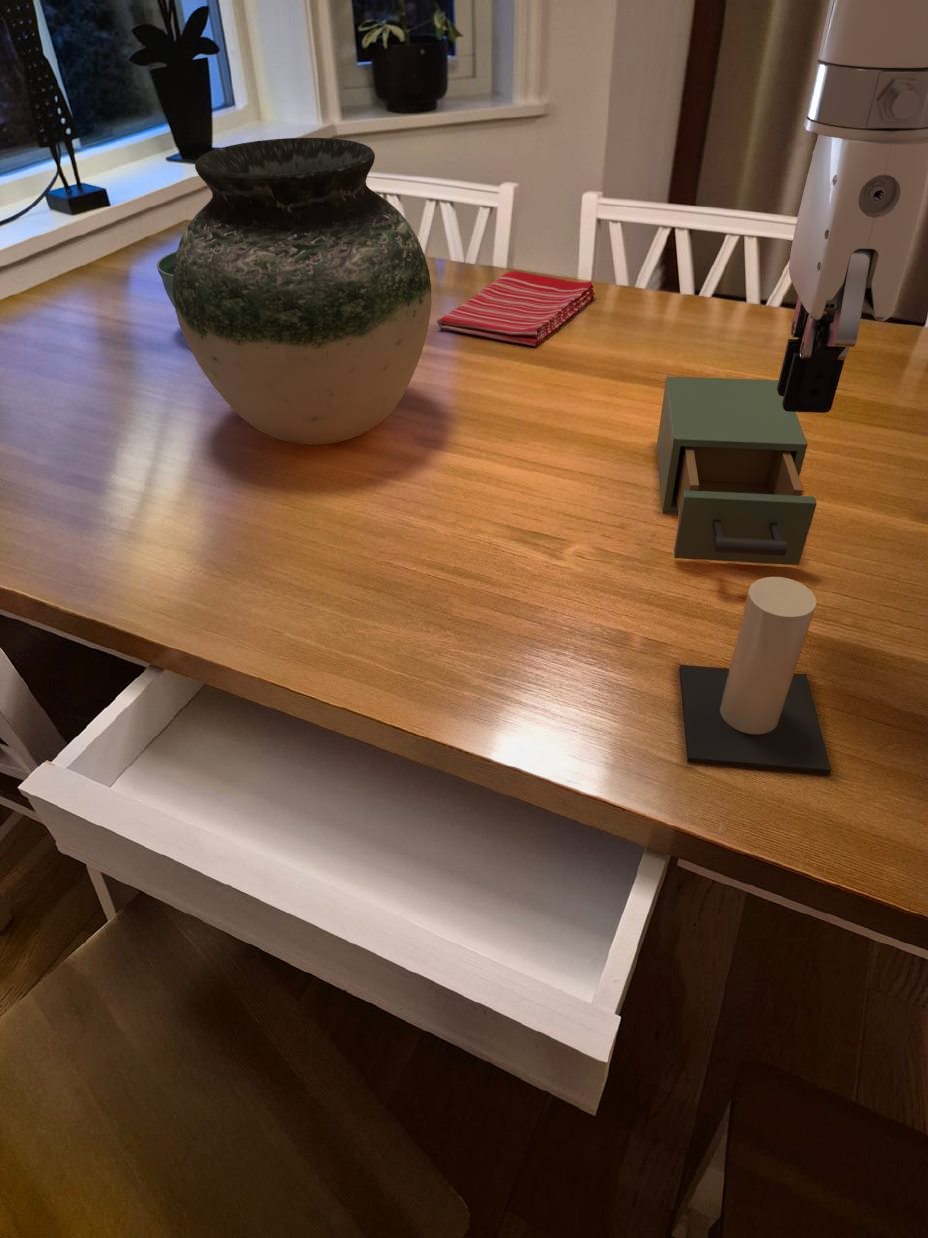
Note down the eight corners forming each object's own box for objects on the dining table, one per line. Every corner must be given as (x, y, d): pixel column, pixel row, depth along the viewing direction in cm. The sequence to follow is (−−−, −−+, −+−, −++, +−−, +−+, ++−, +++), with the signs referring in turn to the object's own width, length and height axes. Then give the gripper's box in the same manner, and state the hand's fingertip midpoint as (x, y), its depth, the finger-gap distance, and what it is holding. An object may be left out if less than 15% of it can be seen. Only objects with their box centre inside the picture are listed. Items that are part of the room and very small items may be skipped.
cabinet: (787, 519, 85) (808, 444, 80) (662, 513, 87) (673, 438, 81) (767, 450, 96) (784, 379, 91) (656, 445, 98) (666, 375, 92)
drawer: (806, 593, 74) (826, 529, 70) (676, 585, 76) (688, 522, 71) (777, 490, 88) (792, 431, 83) (667, 484, 89) (676, 426, 85)
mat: (804, 679, 67) (806, 673, 67) (829, 775, 60) (831, 770, 59) (679, 669, 69) (680, 664, 68) (687, 763, 61) (688, 757, 61)
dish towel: (597, 297, 136) (598, 280, 134) (537, 349, 120) (538, 330, 119) (503, 283, 143) (503, 267, 141) (435, 330, 127) (434, 312, 125)
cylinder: (774, 695, 65) (810, 578, 58) (783, 737, 62) (822, 618, 55) (717, 690, 66) (745, 574, 58) (722, 732, 62) (753, 614, 55)
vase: (180, 485, 93) (98, 192, 74) (236, 379, 115) (184, 131, 96) (433, 481, 93) (417, 184, 73) (441, 375, 114) (430, 124, 95)
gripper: (998, 125, 41) (885, 460, 53) (911, 78, 53) (835, 359, 64) (838, 126, 42) (762, 454, 53) (788, 79, 53) (735, 356, 65)
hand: (802, 401), depth 59 cm, fingers closed
